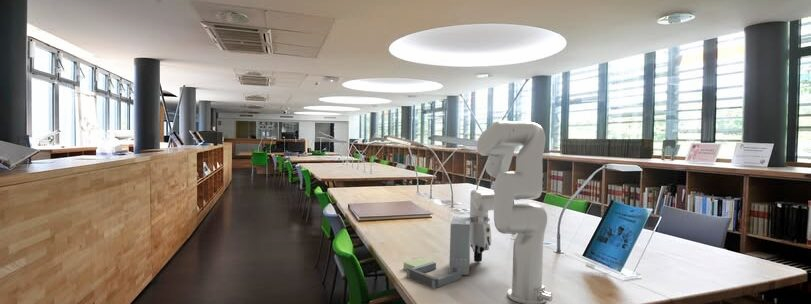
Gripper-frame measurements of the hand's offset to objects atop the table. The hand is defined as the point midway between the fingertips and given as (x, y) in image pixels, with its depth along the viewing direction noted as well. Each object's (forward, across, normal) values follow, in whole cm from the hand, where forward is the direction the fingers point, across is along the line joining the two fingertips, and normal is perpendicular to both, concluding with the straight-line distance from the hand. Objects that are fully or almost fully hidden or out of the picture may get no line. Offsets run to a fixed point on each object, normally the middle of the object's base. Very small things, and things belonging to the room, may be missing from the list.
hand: (477, 261), depth 163 cm
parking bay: (+1, 0, +27) cm, 27 cm away
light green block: (+1, +11, +25) cm, 27 cm away
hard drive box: (+1, 0, +12) cm, 12 cm away
